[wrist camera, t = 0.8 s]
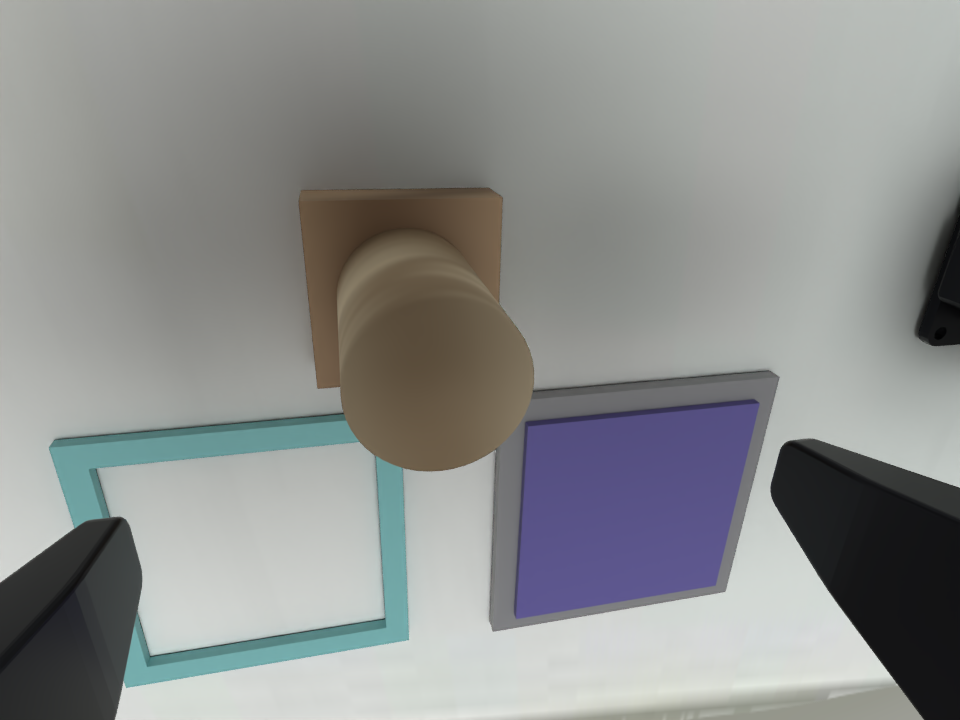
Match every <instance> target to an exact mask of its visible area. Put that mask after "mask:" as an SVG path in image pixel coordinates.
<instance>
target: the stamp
mask: <svg viewBox="0 0 960 720" xmlns="http://www.w3.org/2000/svg"><path fill="white" fill-rule="evenodd" d="M502 202H503V197H501V196H500V195H498V194H497V193H496V192H494V191H493V190H491V189H490V188H429V189H361V190H301V193H300V197H299V210H300V220H301V230H302V240H303V250H304V260H305V270H306V280H307V289H308V299H309V309H310V319H311V329H312V339H313V349H314V359H315V369H316V379H317V388H318V389H320V388H333V387H340V390H341V402H342V408H343V412H344V415H345V418H346V421H347V423H348V425H349V427H350V429H351V431H352V432H353V434H354V435H355V436H356V438H357V439H358V440H359V441H360V443H361V444H362V445H363V446H364V447H365V448H366V449H368V450H369V451H370V452H371V453H373V454H374V455H375V456H377V457H379V458H380V459H382V460H384V461H386V462H388V463H390V464H393V465H395V466H398V467H402V468H405V469H410V470H416V471H443V470H449V469H454V468H457V467H461V466H465V465H467V464H470V463H472V462H475V461H477V460H479V459H480V458H482V457H484V456H486V455H488V454H489V453H491V452H492V451H493V450H495V449H496V448H497V447H499V446H500V445H501V444H502V443H503V442H505V441H506V439H507V438H508V437H509V436H510V435H511V434H512V433H513V432H514V430H515V429H516V428H517V426H518V425H519V424H520V422H521V420H522V419H523V417H524V415H525V413H526V411H527V408H528V406H529V404H530V400H531V396H532V393H533V386H534V367H533V360H532V357H531V353H530V350H529V348H528V345H527V343H526V341H525V339H524V338H523V336H522V335H521V333H520V332H519V330H518V329H517V327H516V326H515V325H514V323H513V322H512V321H511V319H510V318H509V317H508V315H507V314H506V313H505V311H504V310H503V309H502V307H501V306H500V305H499V286H500V258H501V230H502Z"/></svg>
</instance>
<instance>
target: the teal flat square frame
mask: <svg viewBox="0 0 960 720" xmlns="http://www.w3.org/2000/svg"><path fill="white" fill-rule="evenodd" d="M354 442H360V441H359V440H358V439H357V438H356V436H355V435H354V434H353V432H352V431H351V429H350V427H349V425H348V423H347V421H346V418H345V415H344V414H340V415H329V416H318V417H307V418H296V419H284V420H273V421H262V422H251V423H240V424H229V425H218V426H207V427H195V428H184V429H173V430H162V431H151V432H140V433H129V434H117V435H106V436H95V437H84V438H73V439H62V440H54V442H53V443H52V444H51V446H50V447H49V450H50V453H51V456H52V459H53V462H54V466H55V469H56V472H57V475H58V478H59V481H60V484H61V487H62V490H63V493H64V497H65V500H66V503H67V506H68V509H69V512H70V515H71V518H72V521H73V524H74V528H76V527H77V526H79V525H80V524H82V523H83V522H85V521H87V520H92V519H101V518H110V517H109V514H108V510H107V507H106V503H105V500H104V497H103V493H102V490H101V486H100V483H99V479H98V476H97V472H96V469H95V468H103V467H114V466H124V465H134V464H144V463H154V462H164V461H174V460H184V459H194V458H204V457H214V456H224V455H234V454H244V453H254V452H264V451H274V450H284V449H294V448H304V447H314V446H324V445H334V444H344V443H354ZM376 469H377V486H378V503H379V520H380V536H381V553H382V570H383V587H384V604H385V619H384V620H378V621H372V622H366V623H359V624H353V625H347V626H341V627H334V628H328V629H322V630H316V631H310V632H303V633H297V634H291V635H285V636H279V637H272V638H266V639H260V640H254V641H248V642H241V643H235V644H229V645H223V646H216V647H210V648H204V649H198V650H192V651H185V652H179V653H173V654H167V655H161V656H154V657H150V655H149V652H148V648H147V645H146V642H145V638H144V635H143V631H142V628H141V624H140V621H139V617H138V614H137V615H136V620H135V625H134V630H133V635H132V640H131V645H130V650H129V655H128V660H127V665H126V670H125V676H124V683H125V686H126V688H128V687H134V686H140V685H146V684H152V683H158V682H164V681H170V680H176V679H181V678H187V677H193V676H199V675H205V674H211V673H217V672H223V671H229V670H235V669H241V668H246V667H252V666H258V665H264V664H270V663H276V662H282V661H288V660H294V659H300V658H305V657H311V656H317V655H323V654H329V653H335V652H341V651H347V650H353V649H359V648H365V647H370V646H376V645H382V644H388V643H394V642H400V641H406V640H409V630H408V603H407V577H406V551H405V525H404V498H403V472H402V467H398V466H395V465H393V464H390V463H388V462H386V461H384V460H382V459H380V458H379V457H377V456H376Z"/></svg>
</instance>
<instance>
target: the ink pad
mask: <svg viewBox="0 0 960 720" xmlns="http://www.w3.org/2000/svg"><path fill="white" fill-rule="evenodd" d="M778 381H779V376H777V375H776V374H774V373H773V372H771V371H763V372H752V373H741V374H729V375H718V376H707V377H695V378H684V379H673V380H661V381H650V382H638V383H627V384H616V385H604V386H593V387H582V388H570V389H559V390H547V391H536V392H533V393H532V396H531V400H530V404H529V406H528V408H527V411H526V413H525V415H524V417H523V419H522V420H521V422H520V424H519V425H518V426H517V428H516V429H515V430H514V432H513V433H512V434H511V435H510V436H509V437H508V438H507V439H506V441H505V442H503V443H502V444H501V445H500V446H499V447H497V448H496V472H495V498H494V524H493V550H492V576H491V602H490V624H491V627H492V631H493V632H494V631H500V630H506V629H512V628H517V627H523V626H529V625H535V624H541V623H547V622H552V621H558V620H564V619H570V618H576V617H582V616H587V615H593V614H599V613H605V612H611V611H617V610H622V609H628V608H634V607H640V606H646V605H652V604H657V603H663V602H669V601H675V600H681V599H687V598H692V597H698V596H704V595H710V594H716V593H722V592H725V591H726V587H727V583H728V579H729V575H730V571H731V567H732V564H733V560H734V556H735V552H736V548H737V544H738V540H739V536H740V532H741V528H742V524H743V520H744V516H745V512H746V508H747V504H748V500H749V496H750V492H751V488H752V484H753V480H754V476H755V472H756V468H757V464H758V460H759V456H760V452H761V448H762V444H763V441H764V437H765V433H766V429H767V425H768V421H769V417H770V413H771V409H772V405H773V401H774V397H775V393H776V389H777V385H778Z"/></svg>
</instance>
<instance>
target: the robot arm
mask: <svg viewBox="0 0 960 720" xmlns="http://www.w3.org/2000/svg"><path fill="white" fill-rule="evenodd" d="M919 338H920V340H921V341H923V342H925V343H927V344H929V345H932V346H944V345H955V344H960V215H959V218H958V220H957V223H956V226H955V229H954V232H953V235H952V238H951V241H950V243H949V246H948V249H947V252H946V255H945V258H944V261H943V264H942V267H941V269H940V272H939V275H938V278H937V281H936V284H935V287H934V290H933V293H932V295H931V298H930V301H929V304H928V307H927V310H926V313H925V316H924V319H923V321H922V324H921V327H920V330H919ZM771 497H772V499H773V502H774V504H775V506H776V507H777V509H778V511H779V512H780V514H781V515H782V517H783V519H784V520H785V522H786V524H787V525H788V527H789V528H790V530H791V532H792V533H793V535H794V537H795V538H796V540H797V542H798V543H799V545H800V546H801V548H802V550H803V551H804V553H805V555H806V556H807V558H808V559H809V561H810V563H811V564H812V566H813V568H814V569H815V571H816V572H817V574H818V576H819V577H820V579H821V580H822V582H823V583H824V585H825V586H826V588H827V590H828V591H829V592H830V594H831V595H832V597H833V598H834V599H835V601H836V602H837V604H838V605H839V606H840V608H841V609H842V610H843V612H844V613H845V615H846V616H847V617H848V619H849V620H850V621H851V623H852V624H853V625H854V627H855V628H856V629H857V631H858V632H859V633H860V635H861V636H862V637H863V639H864V640H865V641H866V643H867V644H868V645H869V647H870V648H871V649H872V651H873V652H874V653H875V655H876V656H877V657H878V659H879V660H880V661H881V663H882V664H883V665H884V667H885V668H886V670H887V671H888V672H889V674H890V675H891V676H892V678H893V679H894V680H895V682H896V683H897V684H898V686H899V687H900V688H901V690H902V691H903V692H904V693H905V695H906V696H907V698H908V699H909V700H910V702H911V703H912V704H913V706H914V707H915V708H916V710H917V711H918V712H919V714H920V715H921V716H922V718H923V719H924V720H960V488H959V487H956V486H953V485H950V484H947V483H944V482H941V481H938V480H935V479H932V478H929V477H926V476H923V475H920V474H917V473H914V472H911V471H908V470H905V469H902V468H899V467H896V466H893V465H890V464H887V463H885V462H882V461H879V460H876V459H873V458H870V457H867V456H864V455H861V454H858V453H855V452H852V451H849V450H846V449H843V448H840V447H837V446H834V445H831V444H828V443H825V442H822V441H819V440H816V439H809V438H808V439H800V440H791V441H788V442H786V443H785V444H784V445H783V446H782V447H781V449H780V452H779V456H778V460H777V464H776V467H775V471H774V475H773V479H772V482H771ZM141 589H142V569H141V565H140V562H139V558H138V554H137V551H136V547H135V543H134V540H133V536H132V532H131V529H130V526H129V524H128V522H127V521H126V519H124V518H122V517H110V518H101V519H92V520H87V521H85V522H83V523H82V524H80V525H79V526H77V527H76V528H74V529H73V530H72V531H70V532H69V533H68V534H66V535H65V536H64V537H62V538H61V539H59V540H58V541H57V542H55V543H54V544H53V545H51V546H50V547H48V548H47V549H46V550H44V551H43V552H42V553H40V554H39V555H38V556H36V557H35V558H33V559H32V560H31V561H29V562H28V563H27V564H25V565H24V566H22V567H21V568H20V569H18V570H17V571H16V572H14V573H13V574H11V575H10V576H9V577H7V578H6V579H5V580H3V581H2V582H1V583H0V720H115V717H116V713H117V709H118V704H119V700H120V695H121V691H122V686H123V681H124V676H125V670H126V665H127V660H128V655H129V650H130V645H131V640H132V635H133V630H134V625H135V620H136V615H137V609H138V604H139V599H140V594H141Z"/></svg>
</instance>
